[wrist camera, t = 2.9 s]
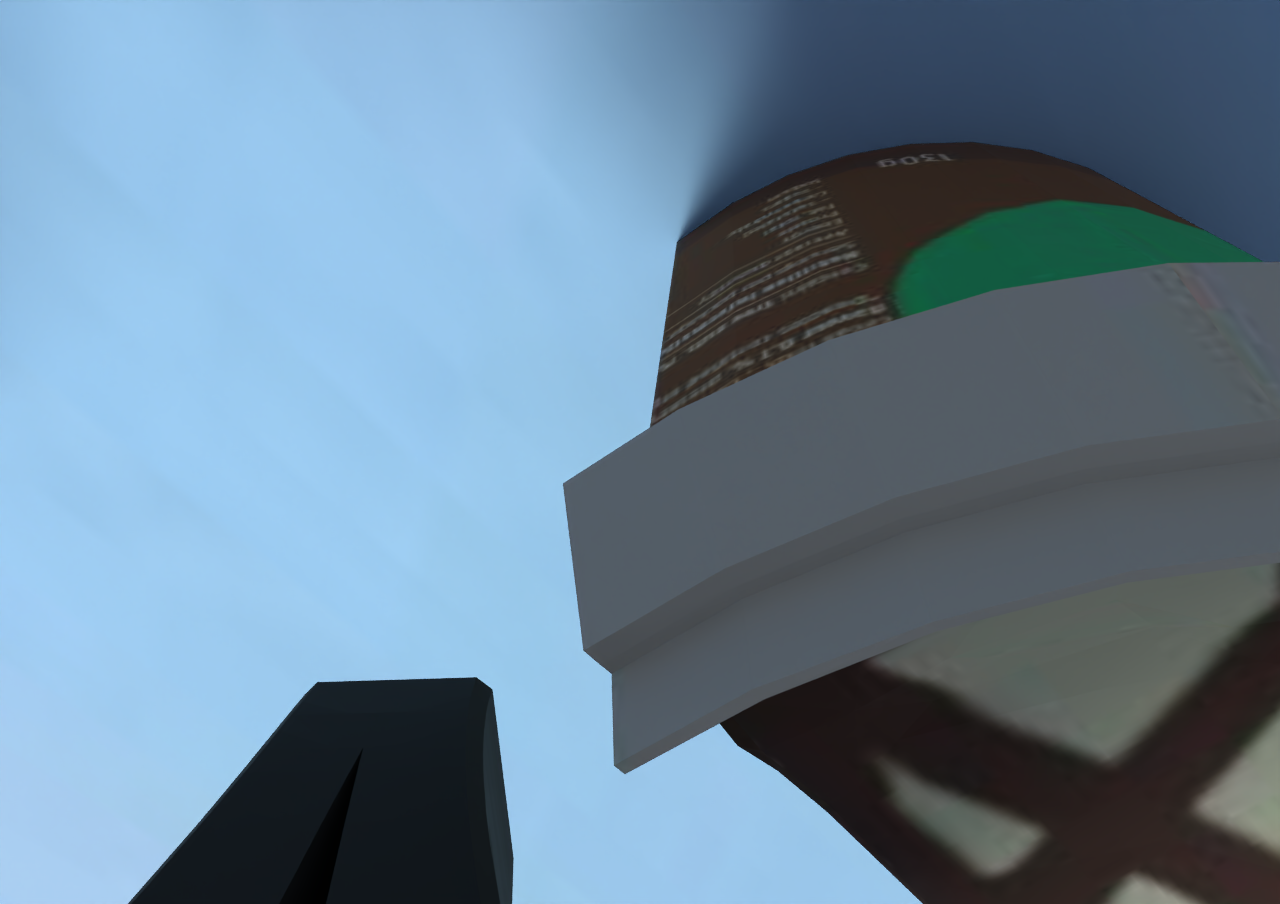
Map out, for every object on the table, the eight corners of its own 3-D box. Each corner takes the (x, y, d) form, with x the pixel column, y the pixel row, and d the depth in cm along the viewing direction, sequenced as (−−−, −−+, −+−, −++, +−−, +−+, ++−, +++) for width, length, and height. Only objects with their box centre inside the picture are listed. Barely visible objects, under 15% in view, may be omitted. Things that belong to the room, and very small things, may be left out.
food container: (1486, 523, 17) (2400, 1294, 8) (1108, 735, 19) (1520, 1544, 10) (1034, -227, 12) (2000, -305, 4) (598, 153, 14) (538, 704, 6)
